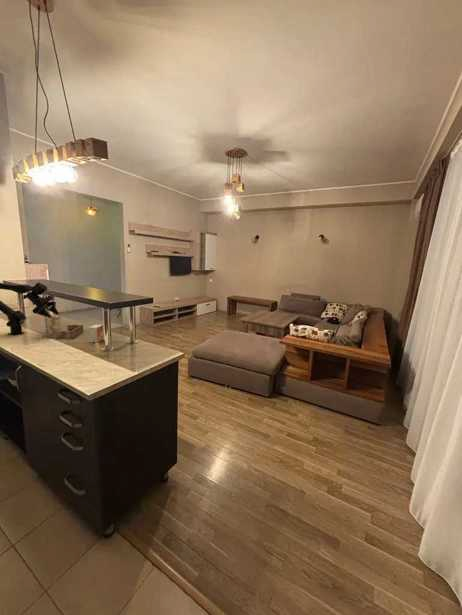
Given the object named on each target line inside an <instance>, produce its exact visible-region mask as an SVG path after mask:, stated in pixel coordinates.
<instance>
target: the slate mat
mask: <svg viewBox="0 0 462 615" xmlns="http://www.w3.org/2000/svg"><path fill="white" fill-rule="evenodd" d="M41 338H56V335H49V332H48V333H46V334H44V335H41Z"/></svg>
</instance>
